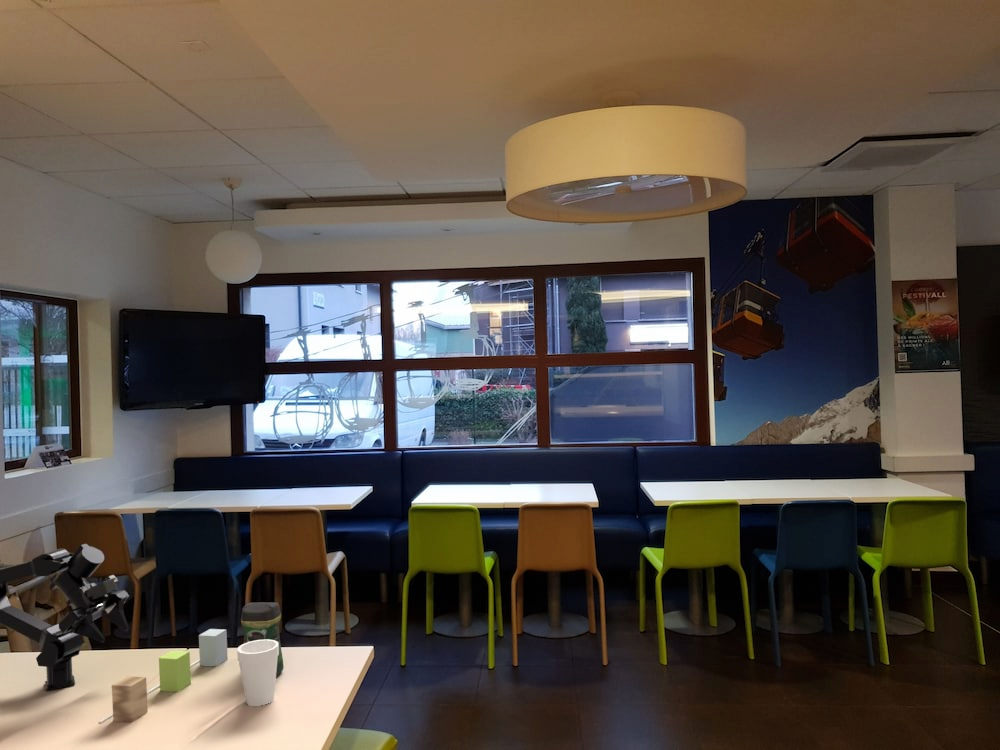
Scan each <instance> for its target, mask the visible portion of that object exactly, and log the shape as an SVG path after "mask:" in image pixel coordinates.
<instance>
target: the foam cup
mask: <svg viewBox="0 0 1000 750" xmlns="http://www.w3.org/2000/svg"><path fill="white" fill-rule="evenodd" d="M236 651H237V661H238V664H239V669H240V675H241V682H242V687H243V691H244V696H245V697H244V698H245V701H246V705H247V704H248V705H247V706H249V707H253V706H257V707H262V706H261V705H263V706H266V705H265V704H267V705H269V704H270V702H271V703H273V702H274V700H275V692H276V682H277V681H276V679H277V676H276V671H277V659H278V655H279V642H277V641H275V640H269V639H265V640H256V641H250V642H247V643H245V642H244V643H243V644H241V645H239V646H238V647H237V650H236ZM268 703H269V704H268Z"/></svg>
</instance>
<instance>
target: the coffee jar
mask: <svg viewBox="0 0 1000 750" xmlns="http://www.w3.org/2000/svg"><path fill="white" fill-rule="evenodd" d="M280 607H281V606H280V604H279V602H278V601H277V602H272V601H271V602H264V601H262V602H249V603H247V604H245V605H244V606H242V610H241V615H240V616H241V618H240V622H241V626H242V628H243V633H244V636H243V637H244V638H243V639H244V644H245V643H247V642H250V641H256V640H265V639H269V640H275V641H277V642H279V655H278V659H277V671H276V677H277V676H279V675H280V674H282V672H283V670H284V659H283V652H282V646H281V640H280V639H281V637H280V622H281V619H282V618H281V617H282V613H281V609H280Z"/></svg>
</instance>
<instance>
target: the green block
mask: <svg viewBox="0 0 1000 750" xmlns="http://www.w3.org/2000/svg"><path fill="white" fill-rule="evenodd" d="M190 656H191V653H190V651H185V650H170V651H168V653H166V654H163V655H162V656H160V657H158V664H159V665H158V667H159V668H158V669H159V673H158V674H159V684H160V687H159V691H160V692H161V691H162V692H173V693H174V692H177V693H179V692H180V691H182V690H183V689H185V688H186V687H187V686H189V685H190V684H192V678H191V668H190V664H191V657H190Z"/></svg>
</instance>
